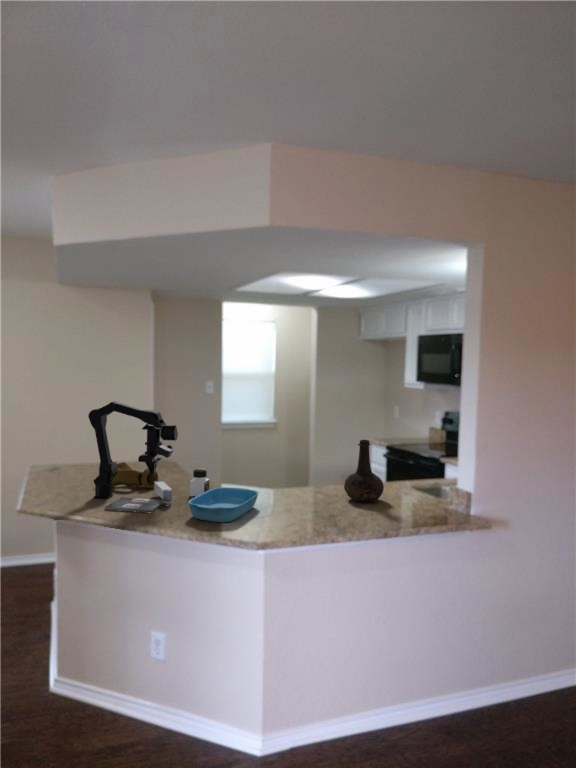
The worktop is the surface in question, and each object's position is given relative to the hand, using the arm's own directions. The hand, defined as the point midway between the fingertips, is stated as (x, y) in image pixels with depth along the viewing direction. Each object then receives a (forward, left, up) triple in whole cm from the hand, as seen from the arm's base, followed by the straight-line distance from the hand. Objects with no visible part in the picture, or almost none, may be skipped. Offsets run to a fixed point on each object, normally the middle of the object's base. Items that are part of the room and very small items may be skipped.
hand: (152, 474), depth 244 cm
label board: (0, -13, -11) cm, 17 cm away
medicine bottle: (+18, +12, -11) cm, 24 cm away
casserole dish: (+36, -12, -11) cm, 40 cm away
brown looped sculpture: (-19, +18, -11) cm, 29 cm away
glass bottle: (+93, +23, -11) cm, 96 cm away
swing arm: (+6, -1, -9) cm, 10 cm away
